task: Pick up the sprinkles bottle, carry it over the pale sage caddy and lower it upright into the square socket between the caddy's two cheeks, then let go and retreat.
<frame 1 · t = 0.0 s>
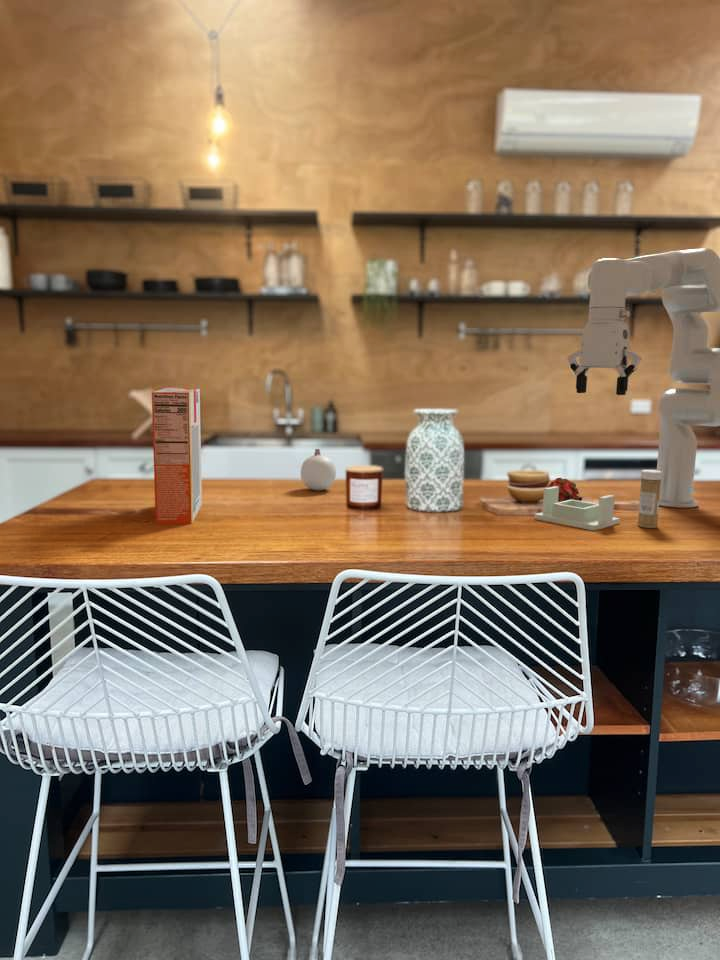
hand: (600, 393, 164), 31 cm above the countertop, tool pointing down, fingers open, 9 cm apart
orange cereal box: (180, 514, 178), on the countertop
caddy: (576, 521, 177), on the countertop
dragon fruit: (562, 508, 193), on the countertop
sprinkles bottle: (647, 527, 172), on the countertop
ornament: (318, 490, 212), on the countertop
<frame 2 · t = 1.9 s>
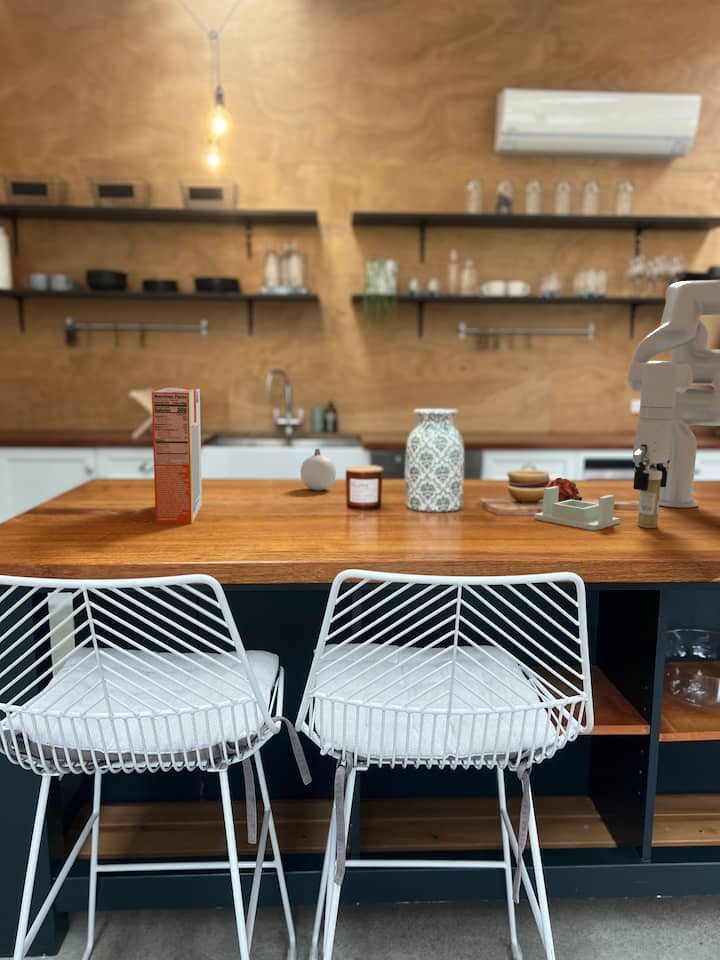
hand: (649, 488, 170), 9 cm above the countertop, tool pointing down, fingers open, 9 cm apart
nothing on the countertop moved.
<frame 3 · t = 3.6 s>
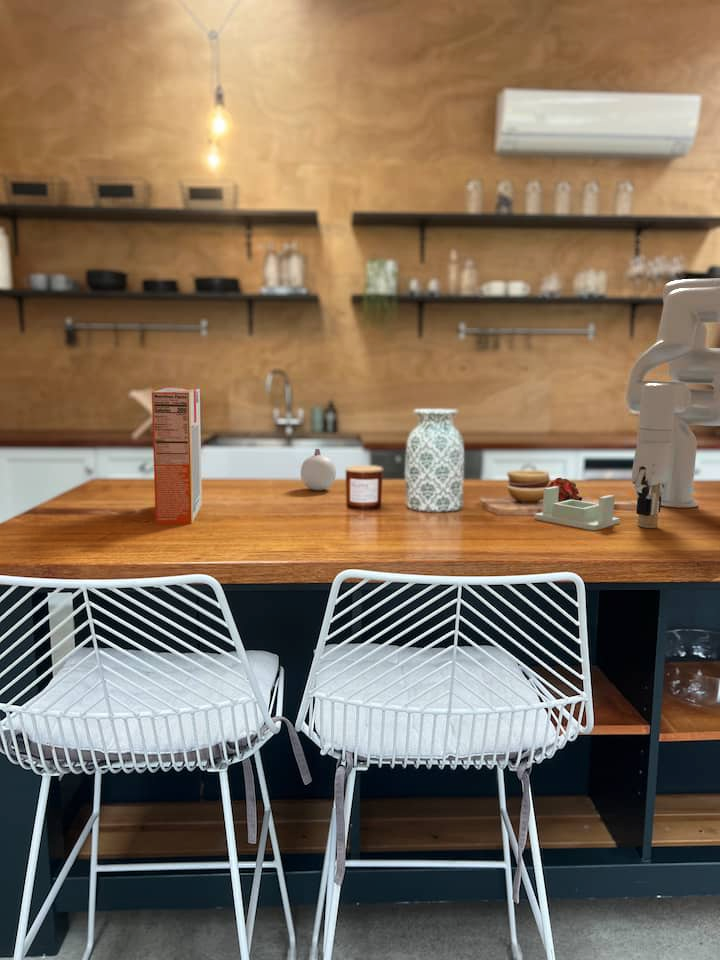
hand: (648, 512, 172), 3 cm above the countertop, tool pointing down, fingers closed on sprinkles bottle, 4 cm apart
sprinkles bottle: (647, 527, 172), on the countertop, touching gripper
everything else where it was.
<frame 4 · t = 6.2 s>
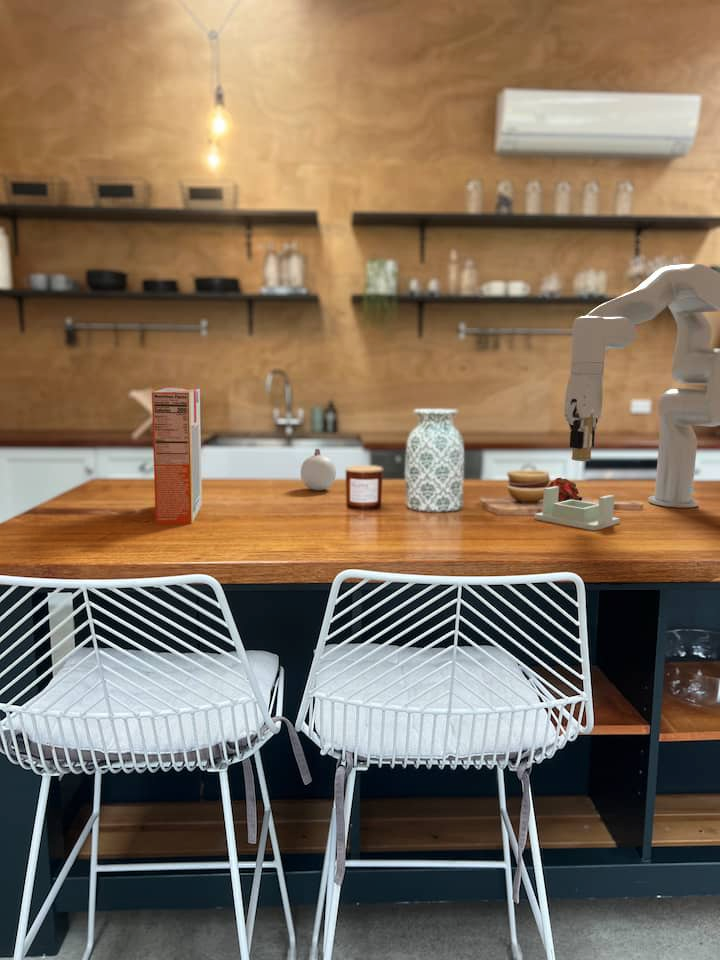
hand: (581, 446, 174), 18 cm above the countertop, tool pointing down, fingers closed on sprinkles bottle, 4 cm apart
sprinkles bottle: (580, 461, 174), point 15 cm above the countertop, touching gripper
everything else where it was.
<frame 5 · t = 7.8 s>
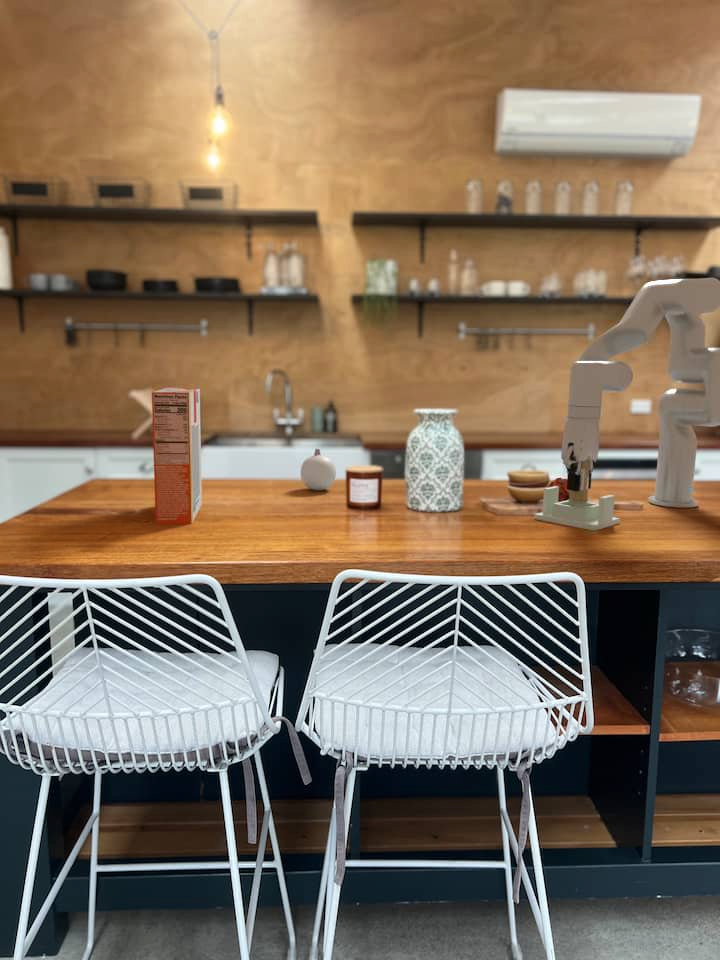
hand: (578, 488, 175), 8 cm above the countertop, tool pointing down, fingers closed on sprinkles bottle, 4 cm apart
sprinkles bottle: (577, 502, 176), point 5 cm above the countertop, touching gripper
everything else where it was.
when the fingers open (6 cm above the countertop, at t = 9.0 s): sprinkles bottle drops 2 cm, resting on caddy.
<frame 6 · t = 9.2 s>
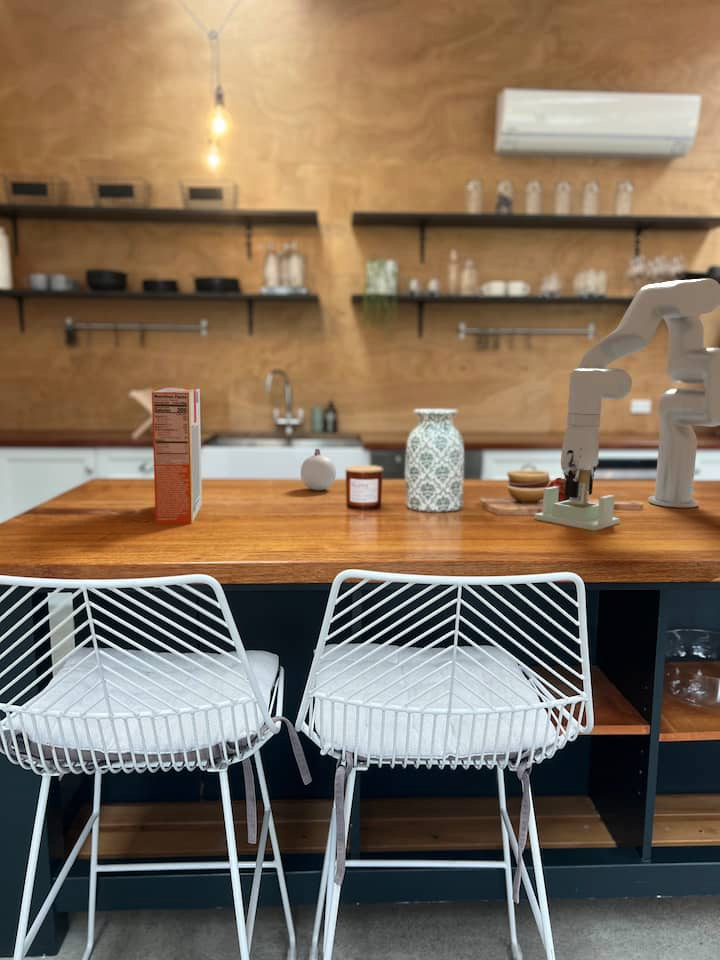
hand: (578, 494, 176), 7 cm above the countertop, tool pointing down, fingers open, 6 cm apart
sprinkles bottle: (577, 516, 177), point 1 cm above the countertop, touching caddy
everything else where it was.
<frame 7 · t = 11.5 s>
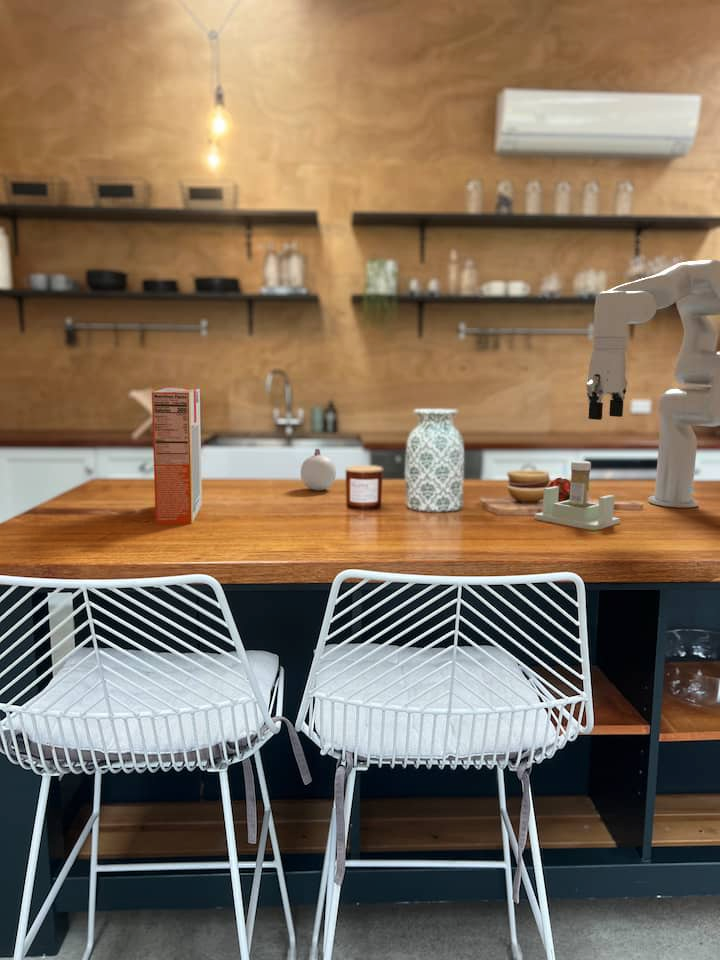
hand: (605, 417, 174), 25 cm above the countertop, tool pointing down, fingers open, 9 cm apart
nothing on the countertop moved.
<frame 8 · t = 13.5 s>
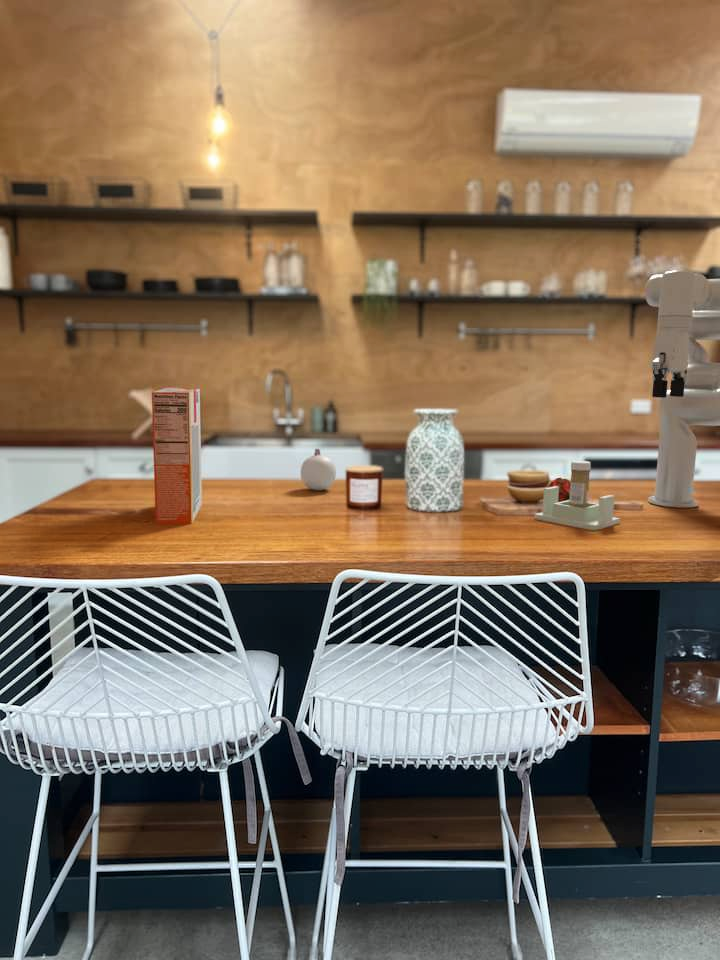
hand: (668, 396, 175), 30 cm above the countertop, tool pointing down, fingers open, 9 cm apart
nothing on the countertop moved.
at the end: sprinkles bottle 0.3 cm from the caddy (horizontally); sprinkles bottle tilted 0°; the gripper is holding nothing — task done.
